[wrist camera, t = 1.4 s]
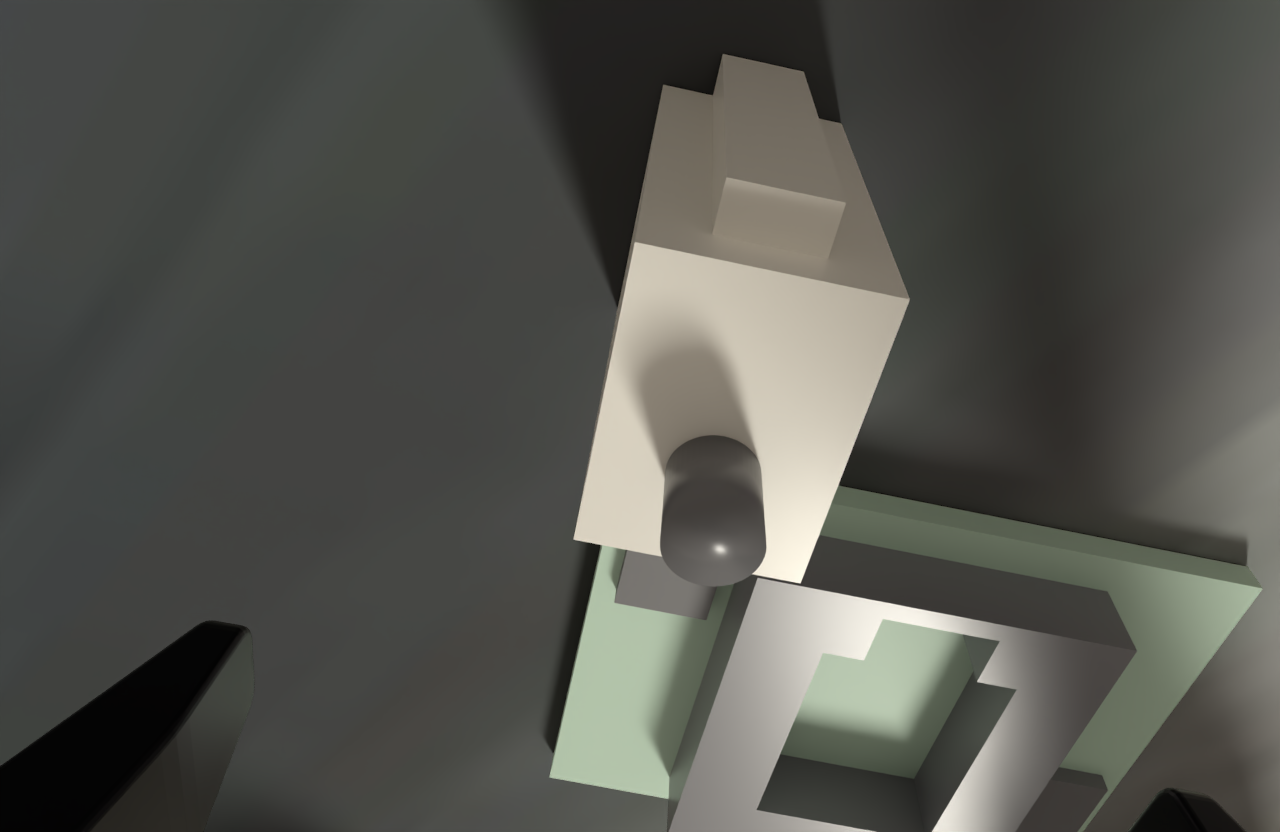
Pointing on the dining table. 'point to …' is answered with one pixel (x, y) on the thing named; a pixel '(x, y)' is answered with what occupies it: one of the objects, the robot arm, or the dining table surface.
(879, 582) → the header socket
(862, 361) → the keyed plug
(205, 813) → the robot arm
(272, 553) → the dining table surface
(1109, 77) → the dining table surface
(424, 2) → the dining table surface
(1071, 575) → the circuit board
